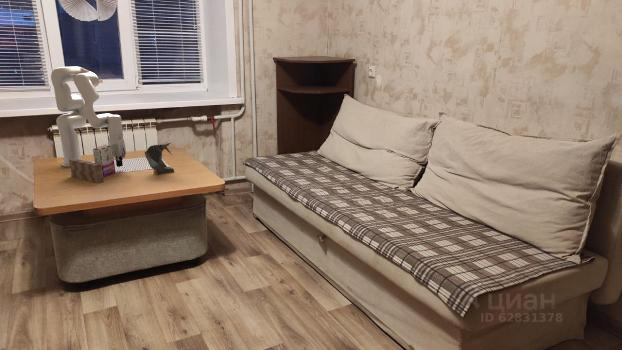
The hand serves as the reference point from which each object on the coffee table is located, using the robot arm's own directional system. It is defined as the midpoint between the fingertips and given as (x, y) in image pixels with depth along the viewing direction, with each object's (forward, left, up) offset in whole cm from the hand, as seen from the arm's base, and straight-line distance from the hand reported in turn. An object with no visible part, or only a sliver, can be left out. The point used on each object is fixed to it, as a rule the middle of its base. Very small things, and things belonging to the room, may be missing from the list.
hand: (119, 166), depth 265 cm
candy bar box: (0, -10, -3) cm, 10 cm away
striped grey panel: (0, -22, -3) cm, 22 cm away
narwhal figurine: (+24, +9, -3) cm, 26 cm away
